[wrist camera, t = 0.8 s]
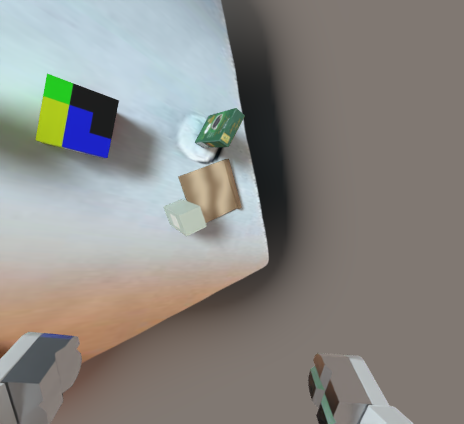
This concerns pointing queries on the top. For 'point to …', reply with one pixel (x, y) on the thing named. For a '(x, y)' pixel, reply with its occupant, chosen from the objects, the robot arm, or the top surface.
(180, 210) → the pale green box
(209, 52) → the top surface
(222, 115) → the coffee box
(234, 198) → the board
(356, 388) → the robot arm
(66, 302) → the top surface
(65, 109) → the puzzle toy
